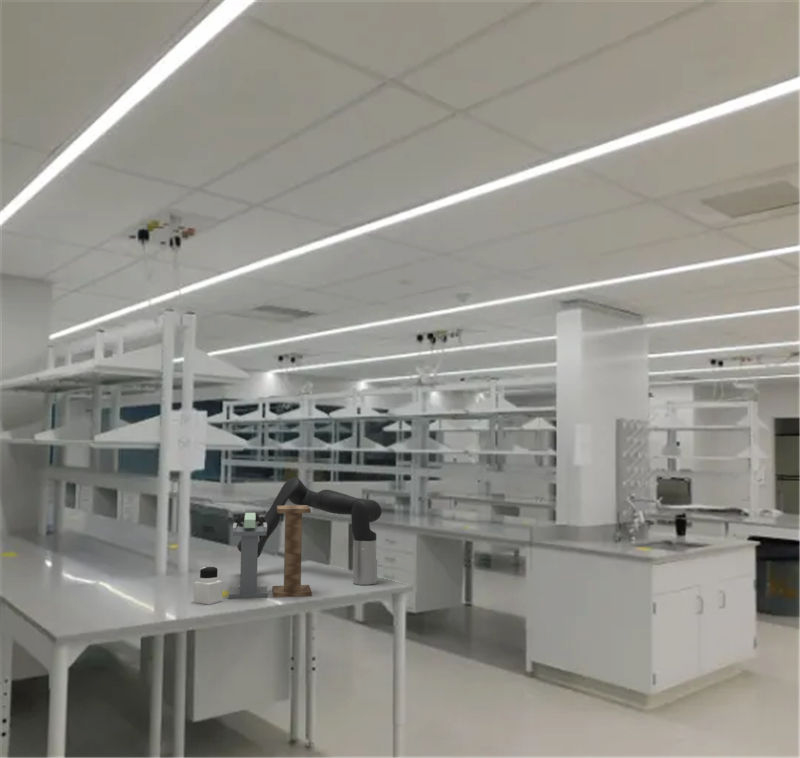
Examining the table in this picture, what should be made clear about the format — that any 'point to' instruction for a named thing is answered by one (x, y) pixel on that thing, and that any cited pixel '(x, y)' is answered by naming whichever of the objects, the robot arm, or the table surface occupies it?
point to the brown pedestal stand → (292, 553)
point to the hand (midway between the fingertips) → (250, 515)
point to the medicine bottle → (208, 587)
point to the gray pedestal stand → (249, 563)
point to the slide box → (249, 520)
